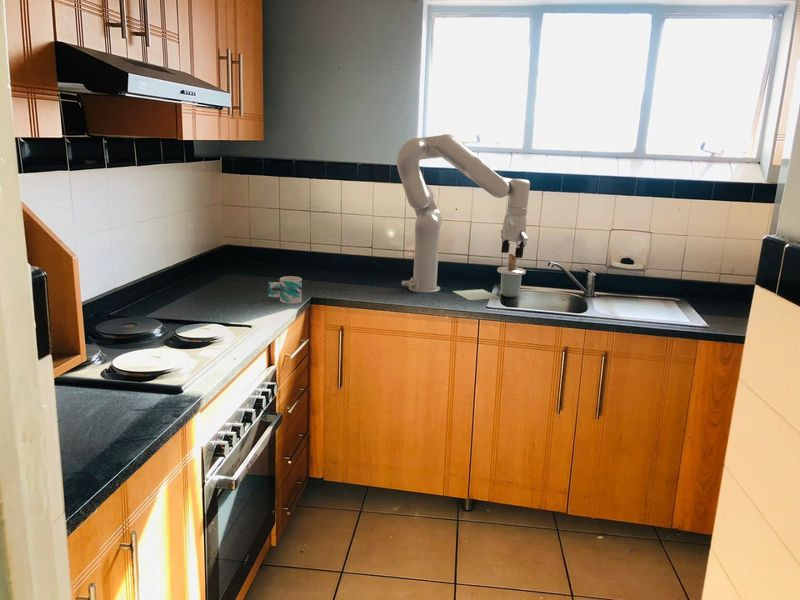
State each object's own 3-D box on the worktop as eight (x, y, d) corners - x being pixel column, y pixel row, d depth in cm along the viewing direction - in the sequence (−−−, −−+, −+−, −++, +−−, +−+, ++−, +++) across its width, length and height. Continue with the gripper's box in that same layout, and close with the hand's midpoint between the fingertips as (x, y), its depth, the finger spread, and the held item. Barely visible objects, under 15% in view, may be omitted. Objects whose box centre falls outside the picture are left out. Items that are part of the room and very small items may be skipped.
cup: (520, 299, 259) (523, 274, 256) (501, 298, 259) (503, 273, 257) (517, 294, 267) (520, 270, 264) (498, 293, 267) (500, 269, 264)
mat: (469, 301, 252) (469, 299, 252) (452, 292, 265) (452, 291, 264) (500, 299, 258) (500, 297, 258) (482, 290, 270) (482, 289, 270)
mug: (301, 303, 238) (301, 281, 236) (267, 303, 237) (267, 280, 235) (301, 297, 246) (302, 276, 244) (269, 297, 245) (268, 275, 242)
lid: (507, 275, 253) (508, 257, 251) (492, 269, 263) (493, 252, 261) (531, 274, 258) (532, 256, 256) (515, 268, 267) (517, 251, 266)
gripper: (496, 208, 260) (491, 250, 265) (521, 214, 245) (515, 259, 250) (512, 208, 263) (507, 250, 268) (537, 215, 248) (532, 259, 253)
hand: (511, 255), depth 259 cm, fingers open, 9 cm apart
